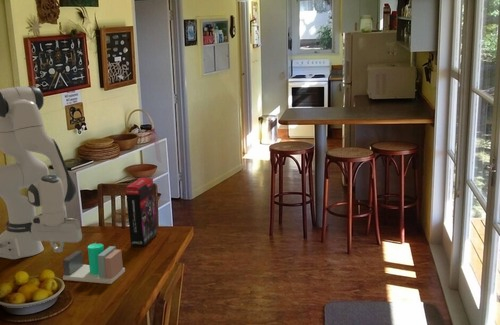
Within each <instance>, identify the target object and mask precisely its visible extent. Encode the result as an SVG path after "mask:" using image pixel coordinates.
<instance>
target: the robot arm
mask: <svg viewBox="0 0 500 325" xmlns="http://www.w3.org/2000/svg"><path fill="white" fill-rule="evenodd" d="M43 106H44V94H43V92H42V90H41V89H40V88H39V87H37V86H34V85H33V86H31V85H29V86H12V87H5V88H1V89H0V152H2V153H3V154H4V155H7V156H10V157H13V158H14V160H15V163H12V164H5V165H0V197H1V199H2V200H3V202H4V203H5V205H6V210H7V215H8V221H6V223H3V227H6V229H5V230H4V231H3V232H2V233H1V234H0V258H5V259H9V260H18V259H21V258H27V257H32V256H35V255H38V254H40V253H42V252H43V251H44V250H45V248H44V246H43V244H42V242H49V243H50V246H51V247H52V248H53V252H54V253H62V252H63V251H64V246H65V244H66V243H78V242H80V241H82V240H83V234H82V229H81V222H80V221H79V220H78V219H77V218H73V217H72V218H70V217H68V215H67V207H66V204H65V203H68V202H69V203H70V202H71V201H72V200H73V198H74V197H75V195H76V193H77V188H76V185H75V182H74V181H73V179H72V177H71V175H70V173H69V169H68V168H67V164H66V163H65V160H64V157H63V155H62V152H61V150H60V148H59V146H58V143H57V141H55V139H53V138H51V137H50V136H49V135H48V133H47V132H46V129H45V126H44V121H43V118H42V115H41V112H40V110H41V109H42V107H43ZM34 153H38V154H41V155H43V156H46V158H48V159H49V161H50V163H51V166H52V168H53V171H54V173H55V175H54V174H50V170H49V168H48V166H47V164H46V162H44V161H42V160H41V159H38V157H36V155H34ZM23 189H27V191H26V195H23V194H21V190H23ZM36 207H37V208H38V207H41V213H40V214H37V210H36V209H37V208H36ZM57 242H58V244H59V246H58V244H57Z"/></svg>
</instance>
